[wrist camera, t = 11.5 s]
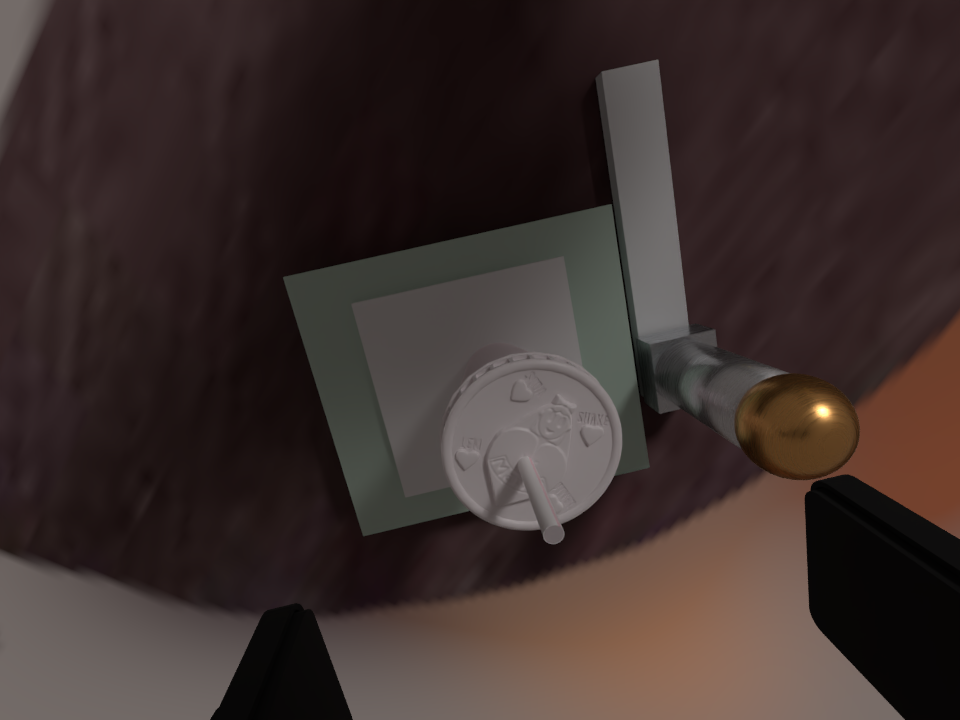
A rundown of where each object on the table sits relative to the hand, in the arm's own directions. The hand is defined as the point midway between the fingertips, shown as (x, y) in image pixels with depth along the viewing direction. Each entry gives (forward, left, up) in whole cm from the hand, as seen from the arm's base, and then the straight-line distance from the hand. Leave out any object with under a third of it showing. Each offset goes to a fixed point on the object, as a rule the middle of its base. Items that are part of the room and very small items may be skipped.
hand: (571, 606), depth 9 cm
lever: (+3, +11, -19) cm, 22 cm away
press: (-3, +2, -20) cm, 21 cm away
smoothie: (0, +1, -18) cm, 18 cm away
